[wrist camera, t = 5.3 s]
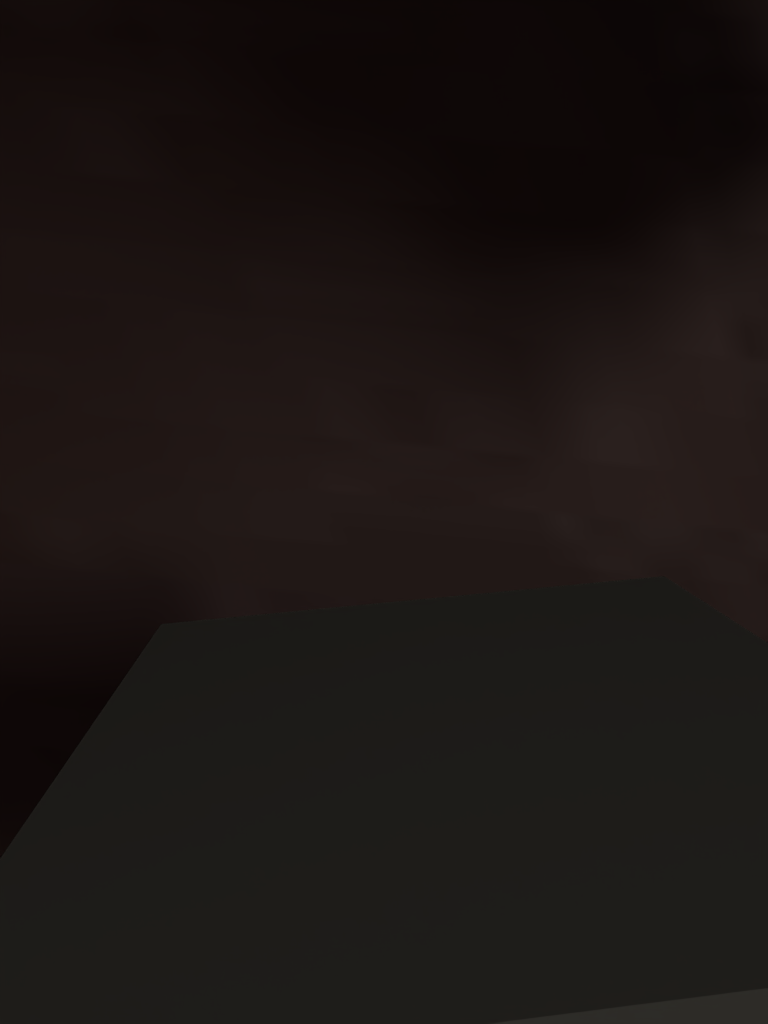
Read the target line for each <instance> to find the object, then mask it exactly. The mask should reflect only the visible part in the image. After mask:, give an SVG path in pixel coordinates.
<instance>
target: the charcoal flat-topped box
mask: <svg viewBox="0 0 768 1024" xmlns="http://www.w3.org/2000/svg"><path fill="white" fill-rule="evenodd" d="M0 1024H768V643H767V642H765V641H764V640H762V639H761V638H759V637H758V636H756V635H755V634H753V633H751V632H750V631H748V630H747V629H745V628H744V627H742V626H741V625H739V624H737V623H736V622H734V621H733V620H731V619H730V618H728V617H727V616H725V615H723V614H722V613H720V612H719V611H717V610H716V609H714V608H713V607H711V606H710V605H708V604H706V603H705V602H703V601H702V600H700V599H699V598H697V597H696V596H694V595H692V594H691V593H689V592H688V591H686V590H685V589H683V588H682V587H680V586H679V585H677V584H675V583H674V582H672V581H671V580H669V579H668V578H666V577H665V576H662V577H651V578H641V579H630V580H620V581H609V582H599V583H588V584H578V585H567V586H557V587H546V588H536V589H525V590H515V591H504V592H494V593H483V594H473V595H462V596H452V597H441V598H431V599H420V600H410V601H399V602H389V603H378V604H368V605H357V606H347V607H336V608H325V609H315V610H304V611H294V612H283V613H273V614H262V615H252V616H241V617H231V618H220V619H210V620H199V621H189V622H178V623H168V624H161V625H160V627H159V628H158V630H157V631H156V632H155V634H154V635H153V637H152V638H151V640H150V641H149V643H148V644H147V646H146V647H145V648H144V650H143V651H142V653H141V654H140V656H139V657H138V659H137V660H136V662H135V663H134V664H133V666H132V667H131V669H130V670H129V672H128V673H127V675H126V676H125V678H124V679H123V681H122V682H121V683H120V685H119V686H118V688H117V689H116V691H115V692H114V694H113V695H112V697H111V698H110V699H109V701H108V702H107V704H106V705H105V707H104V708H103V710H102V711H101V713H100V714H99V715H98V717H97V718H96V720H95V721H94V723H93V724H92V726H91V727H90V729H89V730H88V732H87V733H86V734H85V736H84V737H83V739H82V740H81V742H80V743H79V745H78V746H77V748H76V749H75V750H74V752H73V753H72V755H71V756H70V758H69V759H68V761H67V762H66V764H65V765H64V766H63V768H62V769H61V771H60V772H59V774H58V775H57V777H56V778H55V780H54V781H53V782H52V784H51V785H50V787H49V788H48V790H47V791H46V793H45V794H44V796H43V797H42V799H41V800H40V801H39V803H38V804H37V806H36V807H35V809H34V810H33V812H32V813H31V815H30V816H29V817H28V819H27V820H26V822H25V823H24V825H23V826H22V828H21V829H20V831H19V832H18V833H17V835H16V836H15V838H14V839H13V841H12V842H11V844H10V845H9V847H8V848H7V849H6V851H5V852H4V854H3V855H2V857H1V858H0Z"/></svg>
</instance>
